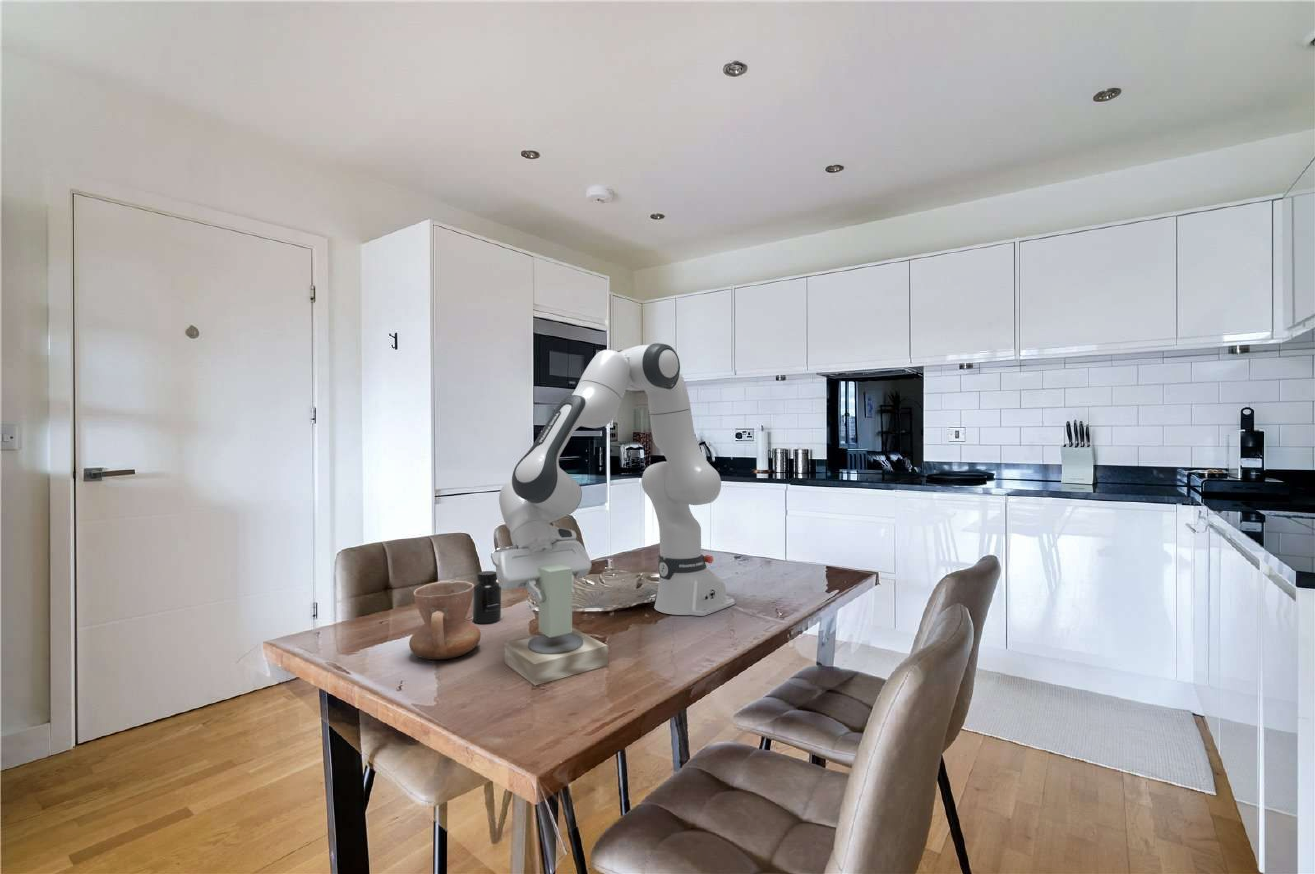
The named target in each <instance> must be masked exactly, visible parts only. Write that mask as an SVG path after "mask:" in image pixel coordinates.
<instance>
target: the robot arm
mask: <svg viewBox="0 0 1315 874" xmlns="http://www.w3.org/2000/svg"><path fill="white" fill-rule="evenodd" d="M680 371H681V364H680V358H679V356H678V353H677V352H676V351H675V349H674V348H673V347H672V346H671V345H669V344H666V343H662V342H661V343H659V342H657V343H652V344H641V345H636V346H633V347H629V348H626V349H623V350H622V349H621V350H614V349H603V350H601V351H599V352H597V353H596V354H595V355H594V357H593V358H592V359H591V360H590V362H589V364H588V365H587V366H586V368H585V369H584V371H583V373H582V375H581V377H580V379H579V380H578V384H577V386H576V387H575V389H574V390H573V393H572V394H570V395H568V396H566V397H564V398H563V399H562V400H561V401H560V402H559V404H558V405H557V406H556V408H555V409H554V410H553V412H552V413H551V415H550V417H549V419H548V420H547V422H546V423H545V425H544V426H543V428H542V430H541V431H540V433H539V434H538V436H537V438H536V439H535V441H534V443H533V444H532V446H531V447H530V448H529V450H528V451H527V452H526V453H525V454H524V456H522V457H521V459H520V460H519V461H518V462H517V464H516V465H515V466H514V468H513V471H512V477H511V479H510V480H508V481H506V483H505V484H503V486H502V487H501V489H500V491H499V496H498V501H499V502H498V503H499V507H500V512H501V514H502V515H501V516H502V519H503V522H504V525H505V526H506V527H507V529H508V530H509V534H510V541H511V544H512V545H509V546H505V547H504V546H503V547H502V546H501V547H496V548H495V550H493V551H492V552H491V554H490V558H491V562H492V564H493V565H494V567H495V572H496V574H497V582H498V583H499V586H500V587H501V590H503V591H509V590H515V589H516V590H517V589H522V588H525V589H526V592H528V593H529V594H530V595H531V596H532V597H534V599H535V602H536V603H537V604H538V603H543V602H545V600H546V595H545V592H544V591H540V590H539V589H538V587H536V586H538V578H540V573H539V570H538V567H545V566H552V565H558V564H561V565H564V566H566V567H569V568H572V598H573V597H574V596H575V589H574V586H573V585H574V583H575V581H574V580H575V579H580V578H581V579H582V578H586V577H587V576H588V574H589V573H590V571H591V570H592V566H593V565H592V561H591V559H590V557H589V554H588V552H587V550H586V549H585V547H584V546H583V544H582V543H581V542H580V541H578V540H576V539H577V533H576V531H575V530H573V529H569V528H564V527H563V528H562V527H559V526H555V525H551V524H552V523H555V522H558V521H559V520H563V519H565V517H568V516H569V515H571V514H573V513H574V512H575V511H576V510H577V508H579V506H580V503H581V501H582V494H583V493H582V492H583V491H582V488H581V485H580V483H579V482H578V481H576V479H574V478H573V477H572V476H571V475H569V473H567V472H565V471H564V470H563V469H562V468H561V467H560V462H559V461H560V457H561V454H562V453H563V451H564V449H565V447H566V446H567V444H568V443H569V441H570V438H571V437H572V435H573V434H574V432H575V431H576V430H577V429H579V428H580V427H584V428H589V429H590V428H591V429H598V428H603V427H605V426H608V425H609V424H611V422H612V421H613V419H614V418H615V417H616V415H617V413H618V411H619V409H620V407H621V403H622V401H623V399H624V396H625V394H626V392H628V391H629V392H630V391H636V392H639V391H644V392H645V394H646V396H647V403H648V404H647V405H648V406H647V407H648V413H649V420H650V426H651V427H650V429H651V435H652V440H653V443H654V445H655V447H656V448H657V449H659V450H660V452H661V453H662V454H663V456H664V458H665V460H666V461H659V462H656V463H653V464H650V465H649V466H647V467H646V468H645V470H644V471H643V473H642V475H641V477H642V478H641V485H642V489H643V491H644V493H645V494H646V495H647V497H648V498H649V499H650V500H651V501H650V502H651V503H652V505H653V509H654V511H655V515H656V519H657V522H658V529H659V555H658V561H657V562H658V563H657V564H658V566H657V567H658V574H659V576H658V579H659V580H658V585H657V587H658V588H657V593H656V598H655V604H654V607H653V608H654V609H655V611H657V612H660V613H663V614H668V615H674V616H698V617H699V616H700V617H703V616H708V615H710V614H712V613H715V612H718V611H720V610H723V609H726V608H729V607H731V606H733V605H735V604H736V602H735V599H734V598H732V597H730V596H729V595H727V589H726V585H725V582H724V581H723V580H722V578H720V577H719V576H718V575H716V574H715V573H714V572H713V571H711V570H710V569H709V568H707V564H706V563H708V564H712V563H713V562H714V557H713V556H712V555H708V554H706V555H703V554H702V528H701V525H700V523H699V521H698V520H697V519H696V518H695V517H694V515H693V513H692V510H691V509H690V506H700V505H701V506H702V505H707V504H711V503H713V502H714V501H715V500H716V499H717V498H718V496H719V495H720V493H721V488H722V481H721V480H722V479H721V477H720V476H721V475H720V473H719V472H718V471H717V470H716V469H715V468H714V467H713V466H712V465H711V464H710V462H708V460H707V459H706V457H705V456H704V453H703V452H702V449H701V448H700V445H699V442H698V441H697V437H696V432H695V427H694V423H693V422H694V420H693V415H692V408H691V402H690V396H689V393H688V389H687V385H686V382H685V379H684V377H683V374H682V373H680ZM689 505H690V506H689Z"/></svg>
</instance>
